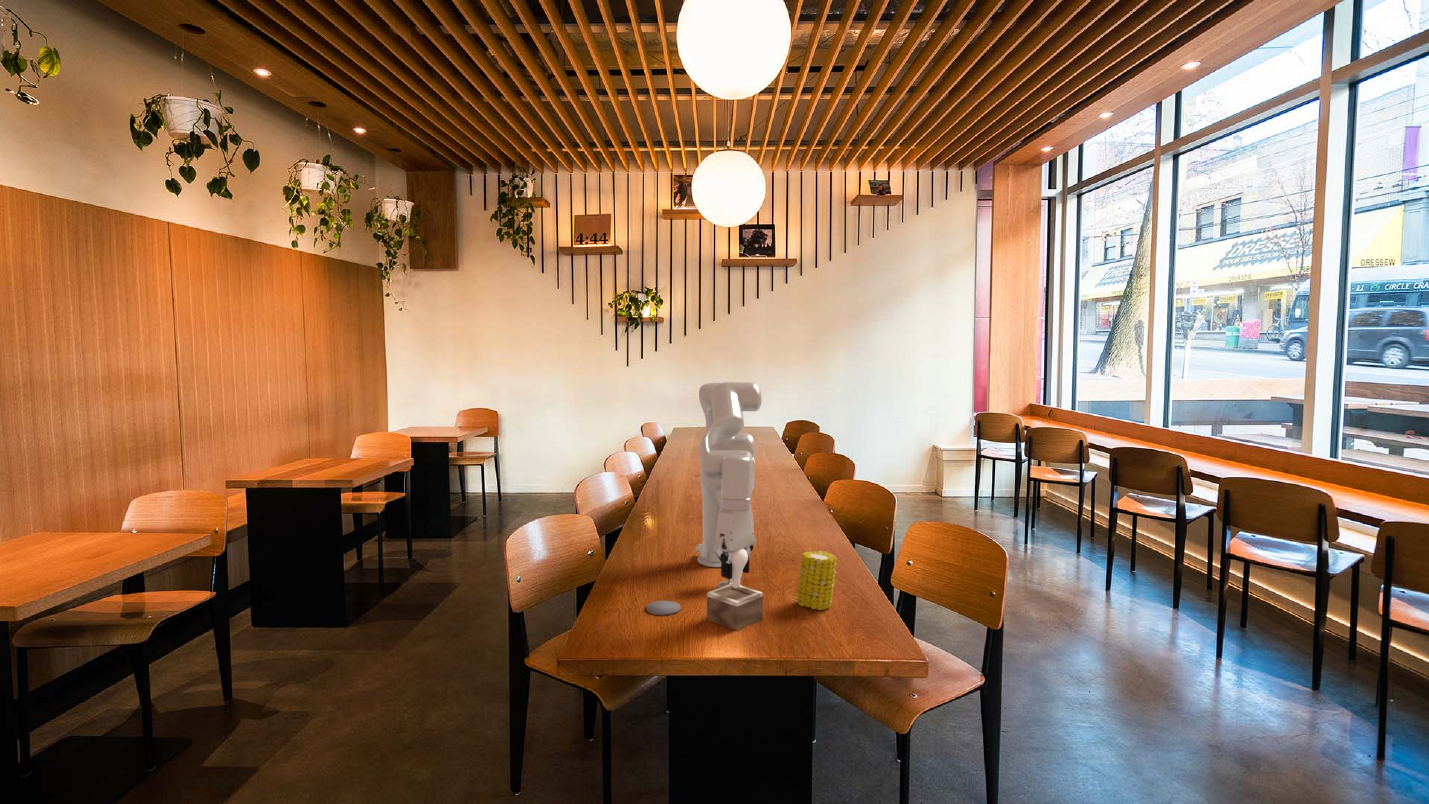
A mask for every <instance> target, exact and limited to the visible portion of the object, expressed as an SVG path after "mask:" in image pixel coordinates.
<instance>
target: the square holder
mask: <svg viewBox="0 0 1429 804" xmlns="http://www.w3.org/2000/svg"><path fill="white" fill-rule="evenodd" d="M741 585H742V584H741ZM741 585H740V586H739V587H737V588H733V587H732V586H731V585H730V584H729V585H726V586H724V587H721V588H719V587H717V588H715V589H713V590H710V591H708V592H707V593H706V620H707V621H710V622H713V623H715V624H716V625H717V624H718V625H721V626H723V627H726V628H729V629H731V630H733V631H736V632H738V631H739V630H741V629H744V628H747V627H749V626H751V625H753V624H755V623H757V622H760V621H762V620H763V617H764V616H763V615H764V614H763V613H764V611H763V610H764V609H763V606H764V605H763V604H764V602H763V601H764V592H763V591H759V590H756V589H753V588H750V587H746V586H744V585H742V586H741Z"/></svg>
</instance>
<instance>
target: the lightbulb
mask: <svg viewBox="0 0 1429 804" xmlns="http://www.w3.org/2000/svg"><path fill="white" fill-rule="evenodd" d="M726 550H727V549H726ZM725 555H726V557H727V555H728V552H726V554H725ZM747 560H748V555H747V551H746V550H745V549H744V548H743V549H739V550H737V551H733V554H732V558H731V562H730V563H732V579H730V585H731V586H732V587H733V588H737V587H739V586H740V584H741V581H742V580H741V579H742V576H743V575H742V574H743V572H742V571H743V568H744V566H745V565H746V563H747Z"/></svg>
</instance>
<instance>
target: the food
mask: <svg viewBox="0 0 1429 804" xmlns="http://www.w3.org/2000/svg"><path fill="white" fill-rule="evenodd" d="M837 561H838V558H837V557H836V556H835V554H832V553H829V552H828V551H825V550H824V551H822V550H817V551H816V550H811V551H805V552H802V555H801V562H800V564H801V565H799V567H800V570H799V574H798V575H799V577H798V583H797V584H798V587H797V595H796V597H797V599H796V602H797V604H798V605H799V606H801V607H806V608H810V609H812V610H818V611H822V610H823V611H825V610H826V609H830V607H831V606H832V603H833V595H834V587H835V585H836V584H835V581H836V579H835V578H836V574H837V571H836V570H837V564H838V563H837Z"/></svg>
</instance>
